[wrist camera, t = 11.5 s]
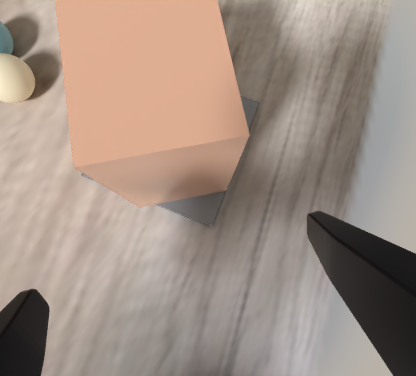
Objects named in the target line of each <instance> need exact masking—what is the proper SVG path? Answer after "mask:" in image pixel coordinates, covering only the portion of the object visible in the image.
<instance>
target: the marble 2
mask: <svg viewBox="0 0 416 376" xmlns="http://www.w3.org/2000/svg"><path fill="white" fill-rule="evenodd" d="M34 88H35V78H34V74H33V72H32V70H31V69H30V67H29V66H28V65H27V64H26V63H25V62H24V61H23V60H21V59H19V58H18V57H16V56H13V55H10V54H6V53H0V101H3V102H7V103H18V102H22V101H24V100H26V99H27V98H29V97H30V96H31V95H32V93H33V91H34Z"/></svg>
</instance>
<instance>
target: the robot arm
mask: <svg viewBox="0 0 416 376" xmlns="http://www.w3.org/2000/svg"><path fill="white" fill-rule="evenodd" d="M307 235H308V238H309V240H310V242H311V244H312V246H313V248H314V250H315V252H316V254H317V256H318V258H319V260H320V262H321V264H322V266H323V268H324V270H325V272H326V273H327V275H328V277H329V279H330V281H331V282H332V284H333V285H334V287H335V288H336V290H337V291H338V293H339V294H340V296H341V297H342V299H343V300H344V302H345V303H346V305H347V306H348V308H349V309H350V311H351V313H352V314H353V316H354V317H355V319H356V320H357V321H358V323H359V325H360V326H361V328H362V329H363V331H364V332H365V333H366V335H367V336H368V338H369V340H370V341H371V343H372V344H373V346H374V347H375V349H376V350H377V352H378V353H379V355H380V356H381V358H382V359H383V361H384V362H385V363H386V365H387V367H388V368H389V370H390V371H391V373H392V374H393V376H416V254H415V253H413V252H411V251H408V250H406V249H404V248H402V247H400V246H397V245H395V244H393V243H391V242H388V241H386V240H384V239H382V238H379V237H377V236H375V235H373V234H371V233H368V232H366V231H364V230H361V229H360V228H357V227H355V226H353V225H351V224H348V223H346V222H344V221H342V220H339V219H337V218H335V217H333V216H331V215H328V214H326V213H324V212H322V211H316V212H312V213H309V214H308V215H307ZM48 321H49V305H48V303H47V302H46V301H45V299H44V298H43V297H42V296H41V294H40V293H39V292H38V291H37V290H36V289H29V290H26V291H22V292H20V293H19V294H18V295H17V296H16V297H15V298H14V299H13V300H12V301H11V302H10V303H9V304H8V305H7V306H6V307H5V308H4V309H3V310H2V311H1V312H0V376H41V372H42V367H43V362H44V356H45V348H46V339H47V330H48Z"/></svg>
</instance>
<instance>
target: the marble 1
mask: <svg viewBox="0 0 416 376" xmlns="http://www.w3.org/2000/svg"><path fill="white" fill-rule="evenodd" d="M13 47H14V43H13V38H12V36H11V33H10V32H9V30H8V29H7V27H6V26H5V25H4V24H3V23H2V22H1V21H0V53H6V54H10V55H11V54H12V52H13Z"/></svg>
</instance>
